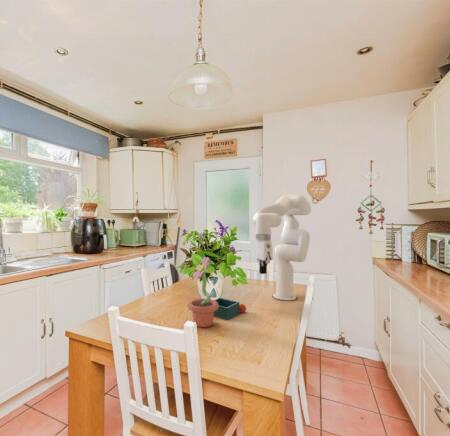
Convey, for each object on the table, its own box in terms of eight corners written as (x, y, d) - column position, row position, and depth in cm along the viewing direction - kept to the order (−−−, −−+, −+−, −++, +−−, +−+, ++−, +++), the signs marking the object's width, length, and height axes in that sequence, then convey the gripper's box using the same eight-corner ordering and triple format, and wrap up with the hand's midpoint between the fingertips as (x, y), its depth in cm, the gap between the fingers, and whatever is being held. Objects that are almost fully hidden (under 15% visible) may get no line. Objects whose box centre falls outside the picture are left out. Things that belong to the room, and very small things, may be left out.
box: (219, 308, 144) (219, 297, 144) (239, 313, 137) (239, 302, 137) (206, 314, 135) (206, 302, 135) (227, 319, 128) (227, 308, 128)
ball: (240, 309, 141) (239, 302, 141) (247, 311, 139) (247, 303, 138) (236, 312, 138) (236, 305, 138) (244, 314, 136) (243, 307, 135)
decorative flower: (184, 318, 129) (184, 254, 129) (212, 316, 132) (212, 254, 132) (191, 331, 115) (191, 259, 114) (222, 329, 117) (223, 259, 117)
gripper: (278, 238, 134) (278, 276, 134) (262, 236, 148) (262, 270, 149) (264, 238, 132) (264, 277, 132) (249, 236, 147) (249, 270, 147)
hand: (263, 273), depth 140 cm, fingers closed
